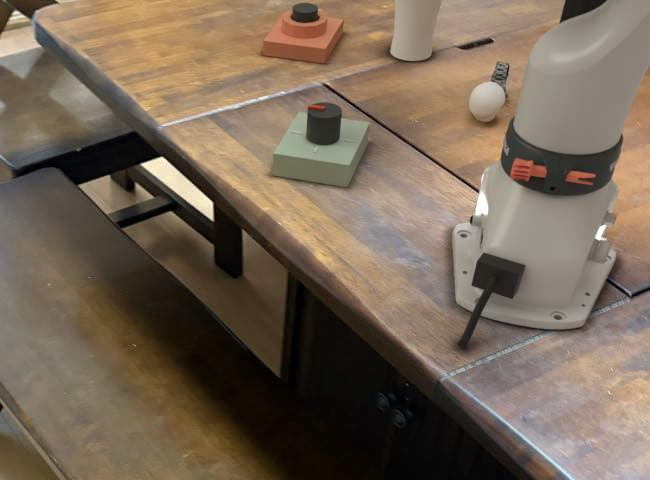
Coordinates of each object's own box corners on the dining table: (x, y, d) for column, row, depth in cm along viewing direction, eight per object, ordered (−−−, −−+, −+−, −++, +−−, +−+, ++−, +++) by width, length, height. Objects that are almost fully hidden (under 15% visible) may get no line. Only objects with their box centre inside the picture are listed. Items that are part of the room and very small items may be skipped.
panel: (347, 187, 112) (349, 164, 109) (272, 175, 113) (273, 151, 111) (367, 144, 119) (370, 121, 116) (297, 133, 121) (298, 110, 118)
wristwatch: (482, 106, 129) (486, 90, 124) (494, 72, 128) (499, 55, 123) (502, 112, 128) (507, 96, 123) (514, 77, 128) (520, 60, 123)
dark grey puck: (313, 26, 135) (314, 14, 134) (289, 23, 136) (289, 10, 134) (320, 16, 137) (321, 4, 136) (295, 13, 138) (296, 1, 137)
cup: (372, 63, 135) (383, -37, 124) (382, 36, 141) (393, -61, 131) (440, 70, 133) (457, -30, 123) (447, 43, 140) (463, -55, 129)
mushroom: (499, 129, 121) (507, 92, 118) (464, 125, 122) (471, 89, 118) (501, 113, 124) (509, 77, 121) (467, 109, 125) (474, 73, 121)
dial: (342, 131, 115) (345, 101, 112) (336, 147, 112) (338, 117, 109) (309, 127, 115) (311, 97, 112) (302, 142, 113) (304, 113, 110)
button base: (324, 63, 135) (326, 36, 132) (262, 55, 137) (263, 27, 134) (342, 33, 142) (344, 6, 139) (283, 26, 144) (284, -1, 141)
